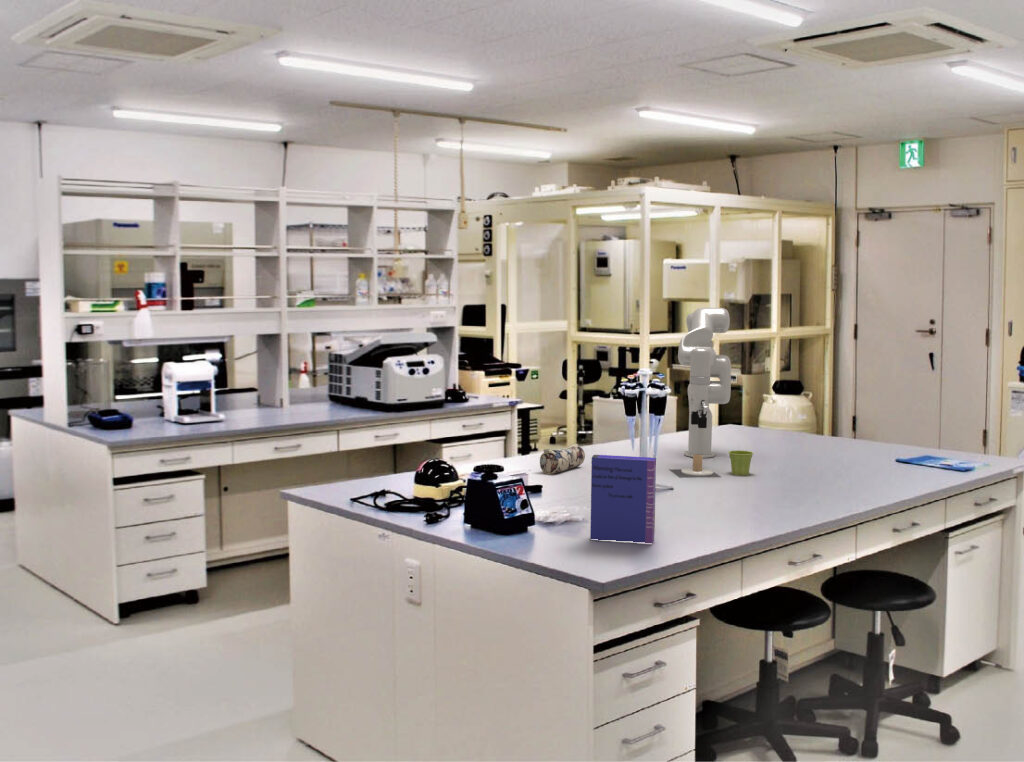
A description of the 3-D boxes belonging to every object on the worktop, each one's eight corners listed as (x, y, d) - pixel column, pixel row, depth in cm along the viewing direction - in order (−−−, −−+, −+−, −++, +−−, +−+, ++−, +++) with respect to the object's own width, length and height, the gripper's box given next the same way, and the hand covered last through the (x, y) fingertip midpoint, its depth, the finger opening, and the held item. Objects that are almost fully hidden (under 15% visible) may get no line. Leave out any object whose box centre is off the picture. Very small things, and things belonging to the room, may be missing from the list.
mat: (668, 470, 396) (668, 469, 396) (709, 470, 397) (709, 469, 397) (679, 478, 380) (679, 477, 380) (721, 478, 381) (721, 477, 381)
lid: (677, 470, 394) (678, 452, 393) (708, 470, 395) (708, 452, 394) (685, 476, 382) (686, 457, 381) (717, 476, 383) (717, 457, 382)
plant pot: (724, 475, 386) (725, 453, 385) (731, 471, 394) (732, 449, 393) (749, 478, 382) (749, 455, 381) (755, 474, 390) (756, 451, 389)
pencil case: (557, 476, 383) (557, 450, 382) (538, 473, 388) (538, 448, 387) (586, 467, 401) (586, 442, 400) (567, 465, 406) (568, 440, 405)
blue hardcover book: (654, 541, 289) (656, 457, 287) (652, 545, 285) (654, 460, 282) (593, 536, 294) (594, 453, 291) (590, 540, 289) (591, 456, 287)
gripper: (684, 379, 393) (683, 423, 395) (696, 383, 376) (695, 429, 378) (703, 379, 394) (702, 423, 396) (716, 383, 377) (714, 429, 378)
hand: (698, 426), depth 387 cm, fingers open, 9 cm apart
